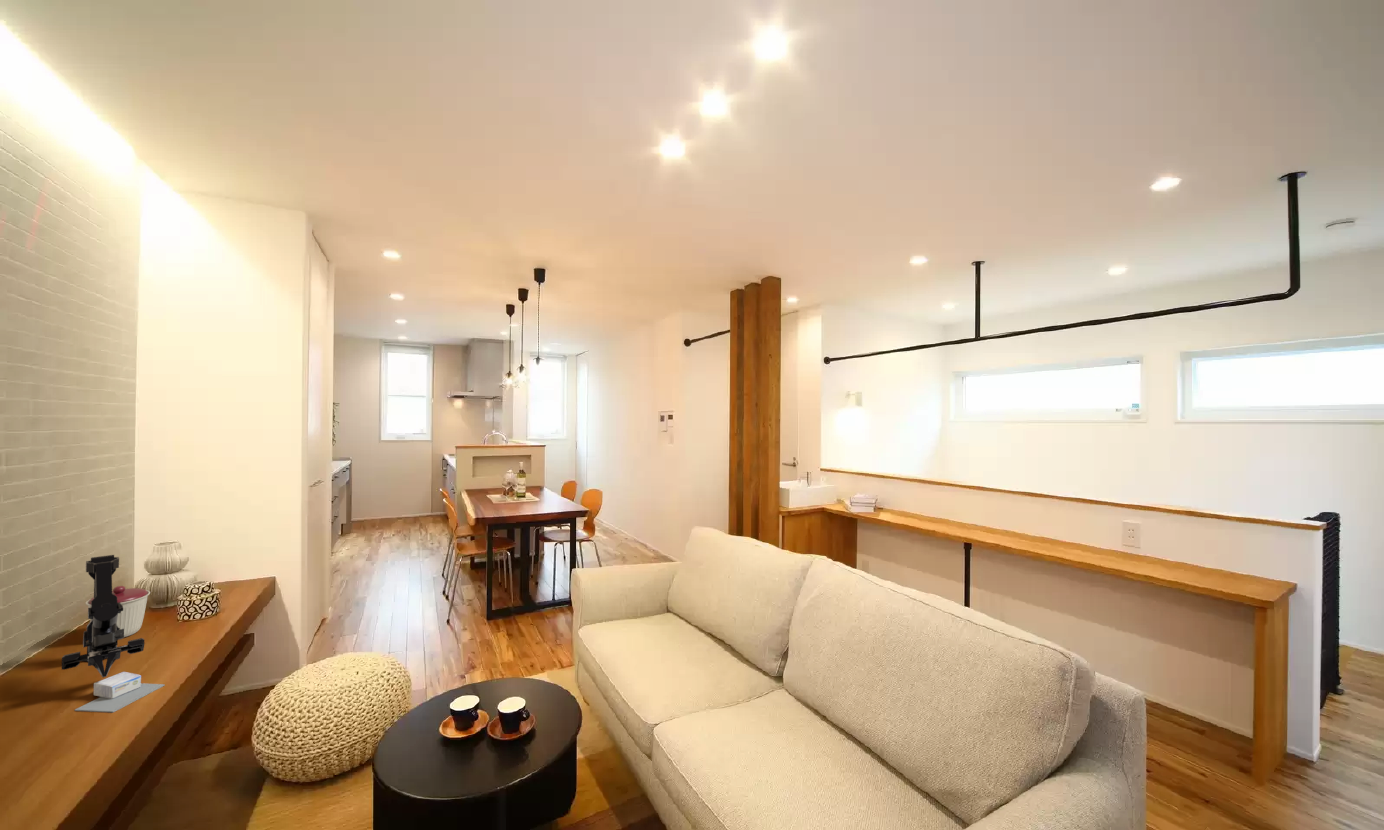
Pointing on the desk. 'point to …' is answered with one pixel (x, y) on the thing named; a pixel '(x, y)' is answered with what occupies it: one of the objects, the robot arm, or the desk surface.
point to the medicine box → (117, 685)
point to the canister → (129, 608)
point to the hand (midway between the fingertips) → (104, 676)
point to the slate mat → (119, 699)
